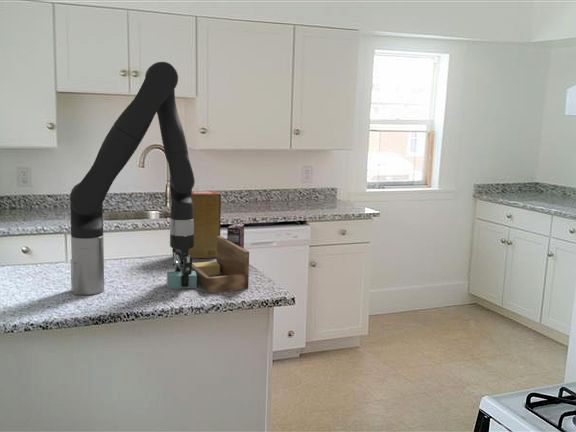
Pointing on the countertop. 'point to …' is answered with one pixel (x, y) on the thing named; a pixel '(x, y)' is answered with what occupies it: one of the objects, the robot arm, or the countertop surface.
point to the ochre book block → (208, 267)
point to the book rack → (227, 268)
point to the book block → (175, 280)
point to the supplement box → (236, 234)
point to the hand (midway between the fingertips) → (181, 283)
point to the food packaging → (205, 223)
